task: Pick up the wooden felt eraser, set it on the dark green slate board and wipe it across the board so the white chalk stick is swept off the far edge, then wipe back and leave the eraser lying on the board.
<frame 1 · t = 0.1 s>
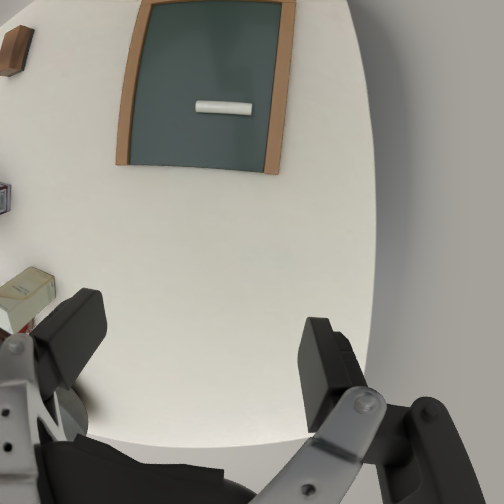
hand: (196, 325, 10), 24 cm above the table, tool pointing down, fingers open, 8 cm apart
chalk: (224, 107, 28), point 1 cm above the table, tilted 6°, touching slate board
cosmetic box: (43, 281, 37), on the table
slate board: (204, 77, 27), on the table
eraser: (21, 53, 23), on the table
bowl: (62, 386, 47), on the table
cake: (19, 309, 40), on the table
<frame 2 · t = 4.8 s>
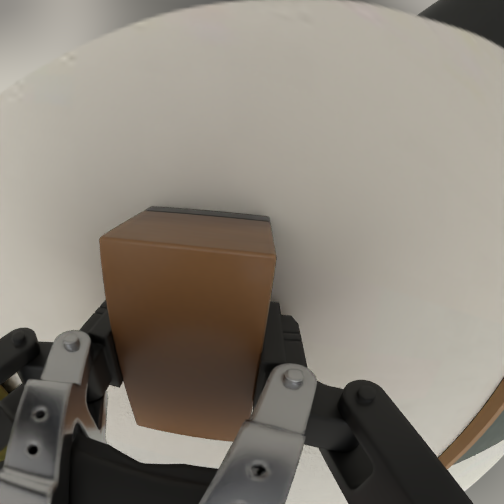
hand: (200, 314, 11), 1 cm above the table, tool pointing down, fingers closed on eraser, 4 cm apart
eraser: (204, 305, 11), on the table, touching gripper
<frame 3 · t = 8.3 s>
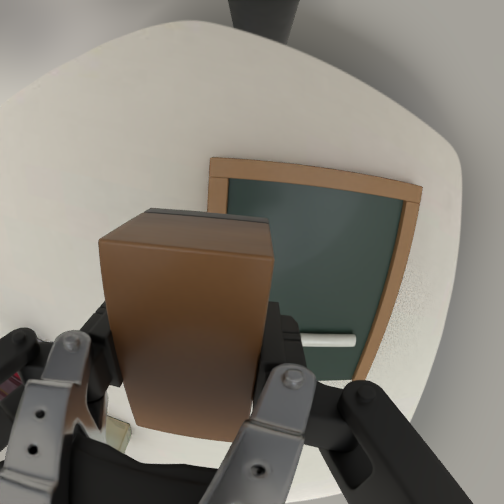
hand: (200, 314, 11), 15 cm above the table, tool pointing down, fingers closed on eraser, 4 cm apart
chalk: (326, 335, 28), point 1 cm above the table, tilted 9°, touching slate board
cosmetic box: (115, 423, 38), on the table
supplement box: (43, 349, 33), on the table
slate board: (303, 295, 28), on the table
eraser: (203, 306, 11), point 15 cm above the table, touching gripper
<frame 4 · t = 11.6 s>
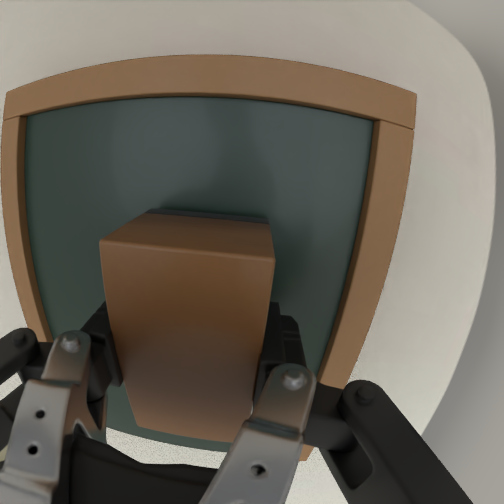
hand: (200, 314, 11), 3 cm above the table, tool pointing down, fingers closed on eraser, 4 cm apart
slate board: (170, 326, 14), on the table
eraser: (203, 306, 12), point 2 cm above the table, touching gripper
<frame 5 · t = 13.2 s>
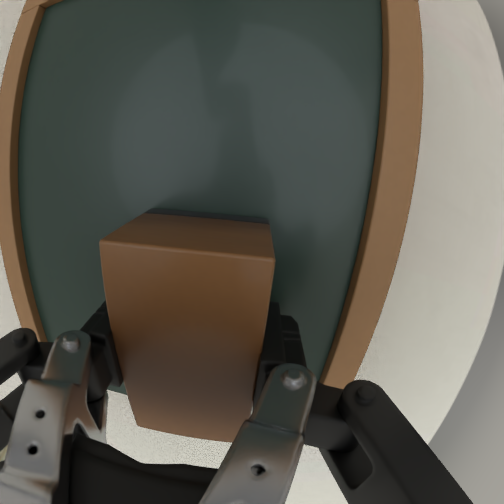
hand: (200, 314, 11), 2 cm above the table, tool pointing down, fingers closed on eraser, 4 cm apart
slate board: (164, 209, 11), on the table
eraser: (203, 306, 12), point 1 cm above the table, touching gripper
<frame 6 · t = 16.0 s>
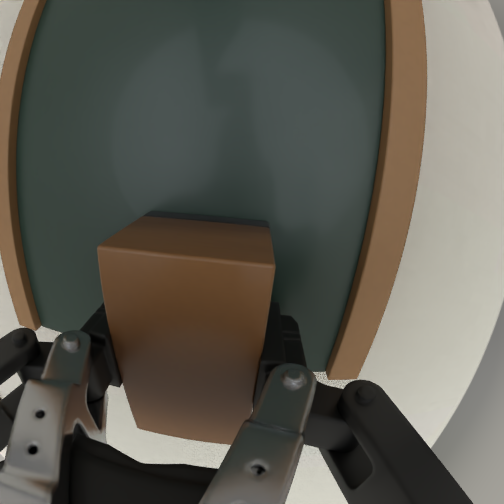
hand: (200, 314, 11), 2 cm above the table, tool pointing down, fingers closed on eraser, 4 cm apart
slate board: (171, 112, 10), on the table
eraser: (203, 309, 11), point 1 cm above the table, touching gripper
when the fingers open (2 cm above the table, at t = 18.6 s): eraser stays where it is, resting on slate board.
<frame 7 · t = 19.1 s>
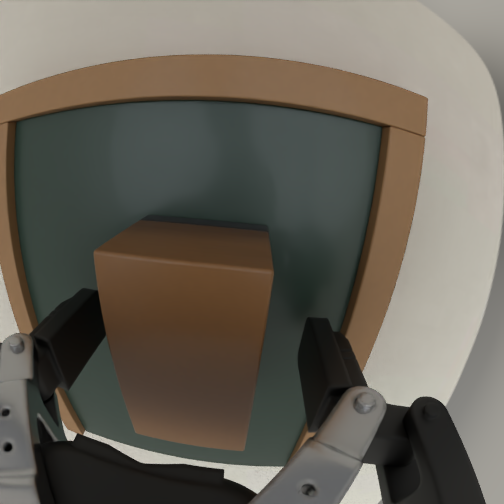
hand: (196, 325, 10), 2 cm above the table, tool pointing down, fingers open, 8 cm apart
slate board: (167, 340, 13), on the table
eraser: (201, 314, 11), point 1 cm above the table, touching slate board
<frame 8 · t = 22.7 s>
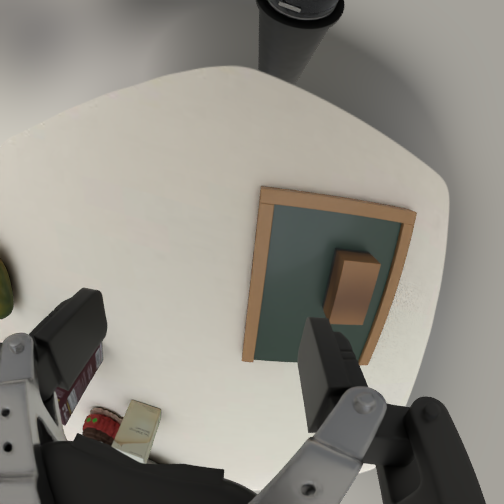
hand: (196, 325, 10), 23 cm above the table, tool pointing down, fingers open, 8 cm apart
cosmetic box: (146, 409, 45), on the table
supplement box: (83, 342, 40), on the table
slate board: (323, 293, 35), on the table
eraser: (345, 279, 33), point 1 cm above the table, touching slate board
cake: (110, 418, 48), on the table
fruit: (5, 275, 36), on the table
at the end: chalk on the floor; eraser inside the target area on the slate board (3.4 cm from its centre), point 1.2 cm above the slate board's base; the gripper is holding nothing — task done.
